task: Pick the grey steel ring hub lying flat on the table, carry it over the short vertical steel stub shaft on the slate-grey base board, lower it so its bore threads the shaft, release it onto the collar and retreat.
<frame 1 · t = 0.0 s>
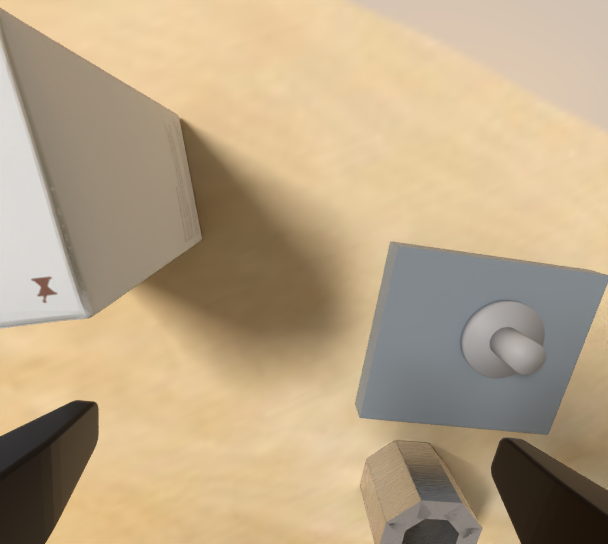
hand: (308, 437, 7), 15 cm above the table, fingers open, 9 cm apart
hub: (402, 475, 27), on the table
supplement box: (131, 186, 20), on the table
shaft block: (468, 339, 24), on the table
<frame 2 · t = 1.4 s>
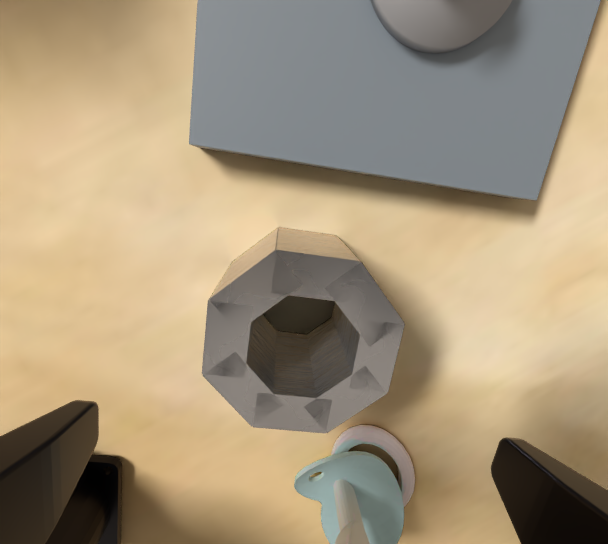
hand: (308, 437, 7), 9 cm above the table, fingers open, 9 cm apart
pacifier: (357, 467, 19), on the table
hub: (297, 298, 16), on the table
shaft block: (392, 15, 13), on the table
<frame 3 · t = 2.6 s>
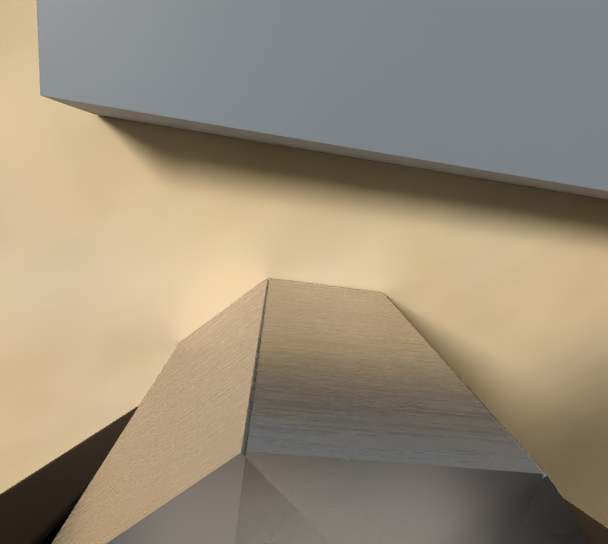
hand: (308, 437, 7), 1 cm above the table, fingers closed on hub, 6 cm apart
hub: (305, 406, 8), on the table, touching gripper
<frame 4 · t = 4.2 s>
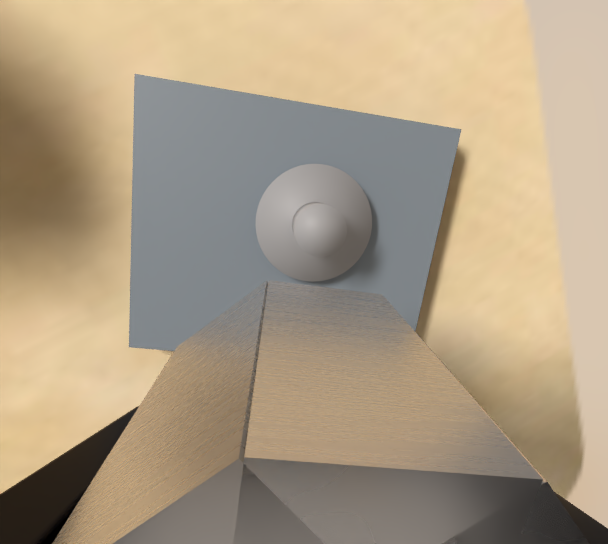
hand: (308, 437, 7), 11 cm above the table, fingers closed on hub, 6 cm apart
hub: (304, 408, 8), point 10 cm above the table, touching gripper
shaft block: (287, 237, 17), on the table
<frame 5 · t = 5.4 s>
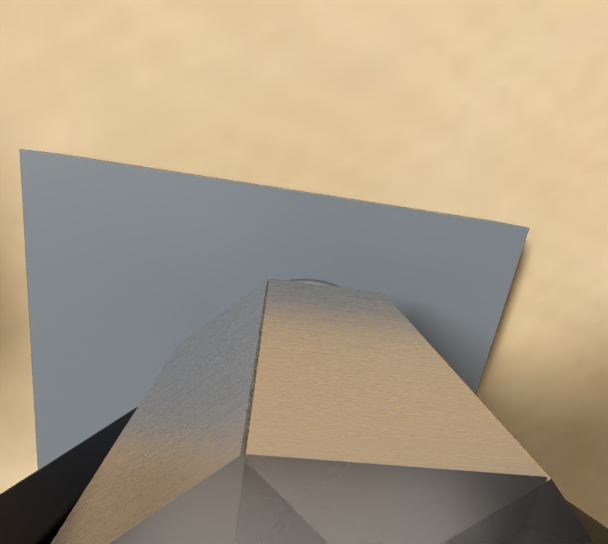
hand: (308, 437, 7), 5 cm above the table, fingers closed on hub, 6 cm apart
hub: (305, 407, 8), point 4 cm above the table, touching gripper
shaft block: (268, 359, 12), on the table
when the fingers open (4 cm above the table, at t = 6.0 s): hub drops 1 cm, resting on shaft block.
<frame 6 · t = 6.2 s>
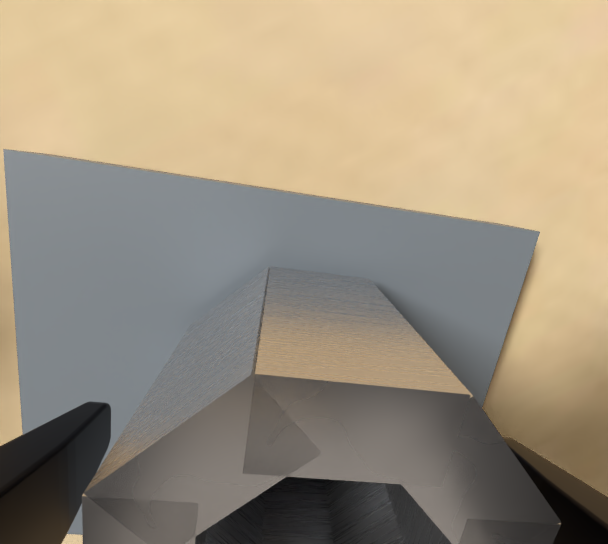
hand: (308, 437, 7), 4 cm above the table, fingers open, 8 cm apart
hub: (302, 380, 10), point 2 cm above the table, touching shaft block
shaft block: (266, 367, 12), on the table
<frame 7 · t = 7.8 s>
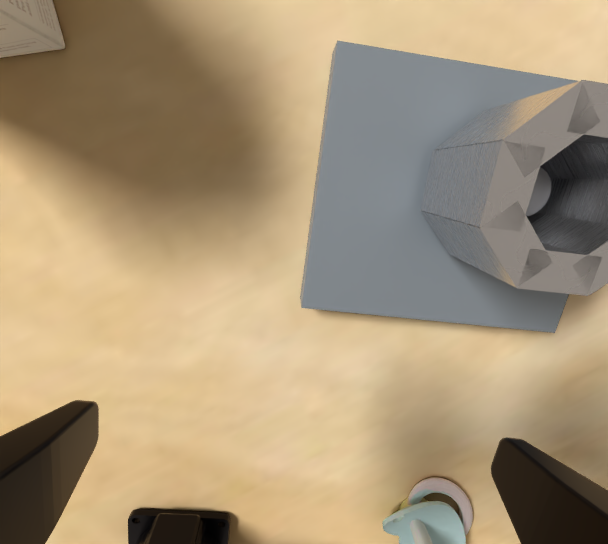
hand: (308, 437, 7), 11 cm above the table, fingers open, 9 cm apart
pacifier: (425, 507, 24), on the table
hub: (493, 189, 16), point 2 cm above the table, touching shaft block
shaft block: (446, 203, 18), on the table
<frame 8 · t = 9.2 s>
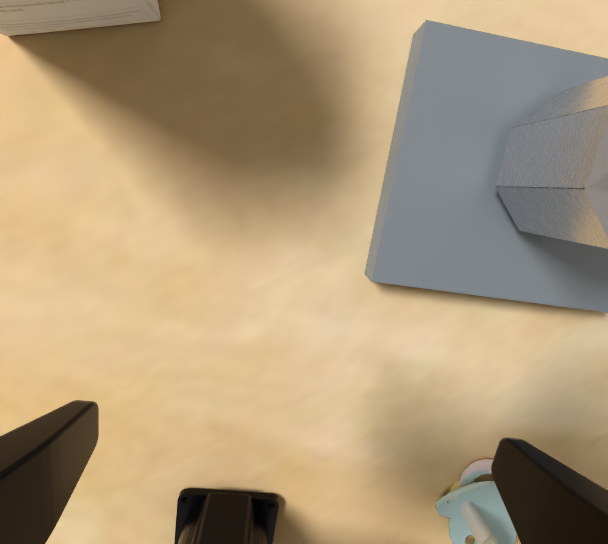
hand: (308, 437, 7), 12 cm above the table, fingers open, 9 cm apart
pacifier: (473, 490, 24), on the table
hub: (564, 168, 16), point 2 cm above the table, touching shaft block
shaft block: (511, 185, 18), on the table
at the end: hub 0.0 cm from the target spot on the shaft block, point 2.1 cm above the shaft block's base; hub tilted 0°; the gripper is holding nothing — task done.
